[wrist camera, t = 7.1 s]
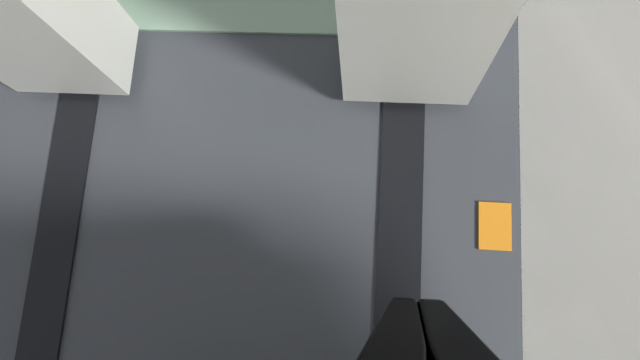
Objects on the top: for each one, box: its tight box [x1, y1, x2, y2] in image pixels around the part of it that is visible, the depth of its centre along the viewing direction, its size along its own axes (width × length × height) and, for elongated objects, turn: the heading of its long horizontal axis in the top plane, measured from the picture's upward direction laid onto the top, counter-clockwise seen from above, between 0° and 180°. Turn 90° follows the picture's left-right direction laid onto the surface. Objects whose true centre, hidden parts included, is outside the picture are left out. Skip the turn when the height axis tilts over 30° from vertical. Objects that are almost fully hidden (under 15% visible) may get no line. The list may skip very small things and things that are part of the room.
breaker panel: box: [0, 0, 523, 360], centre depth 15 cm, size 13×15×3 cm
